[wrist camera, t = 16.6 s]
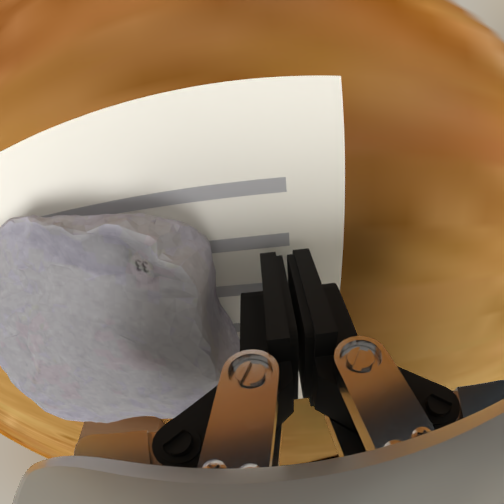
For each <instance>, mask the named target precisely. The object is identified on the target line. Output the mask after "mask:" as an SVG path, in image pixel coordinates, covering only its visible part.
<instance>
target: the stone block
mask: <svg viewBox="0 0 504 504" xmlns="http://www.w3.org/2000/svg"><path fill="white" fill-rule="evenodd" d="M237 352H240V339H239V337H238V335H237V332H236V329H235V327H234V325H233V323H232V321H231V319H230V317H229V316H228V314H227V313H226V311H225V310H224V309H223V307H222V306H221V304H220V301H219V299H218V296H217V293H216V270H215V267H214V263H213V257H212V251H211V246H210V243H209V240H208V239H207V237H206V236H205V235H203V234H202V233H200V232H199V231H197V230H196V229H195V228H193V227H191V226H190V225H188V224H186V223H183V222H181V221H177V220H172V219H164V218H160V217H157V216H151V215H147V214H143V213H136V214H101V215H89V216H79V215H75V214H74V215H69V216H68V215H55V216H53V217H40V216H35V215H31V216H25V217H24V216H22V217H13V218H10V219H8V220H7V221H6V222H5V223H4V224H3V225H2V226H1V227H0V366H1V367H2V369H3V370H4V371H5V372H6V373H7V375H8V377H9V378H10V380H11V382H12V383H13V384H14V385H15V386H16V387H17V388H18V389H19V390H20V391H21V392H23V393H24V394H25V395H26V396H27V397H29V398H31V399H32V400H33V401H34V402H35V403H36V404H37V405H39V406H40V407H41V408H42V409H43V410H44V411H46V412H48V413H50V414H53V415H55V416H57V417H60V418H62V419H65V420H72V421H82V422H88V421H92V422H96V423H97V422H102V423H110V422H115V421H119V420H122V419H127V418H132V417H140V416H155V417H157V418H160V419H166V418H175V417H176V416H177V415H179V414H180V413H182V412H183V411H184V410H186V409H187V408H188V407H190V406H191V405H192V404H194V403H195V402H196V401H197V400H199V399H200V398H201V397H203V396H204V395H205V394H207V393H208V392H209V391H210V390H212V389H213V388H214V387H215V386H217V385H218V382H219V378H220V375H221V371H222V368H223V366H224V363H225V362H226V361H227V360H228V359H229V358H230V357H231V356H232V355H234V354H236V353H237Z"/></svg>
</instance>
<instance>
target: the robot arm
mask: <svg viewBox="0 0 504 504" xmlns="http://www.w3.org/2000/svg"><path fill="white" fill-rule="evenodd" d="M260 263H261V274H262V286H263V291H257V292H247V293H241V297H240V352H237V353H236V354H234V355H232V356H231V357H230V358H229V359H228V360H227V361H226V362H225V363H224V366H223V368H222V371H221V375H220V378H219V382H218V385H217V386H215V387H214V388H213V389H212V390H210V391H209V392H208V393H207V394H205V395H204V396H203V397H201V398H200V399H199V400H197V401H196V402H195V403H194V404H192V405H191V406H190V407H188V408H187V409H186V410H184V411H183V412H182V413H180V414H179V415H177V416H176V417H175V418H173V419H172V420H171V421H169V422H168V423H167V424H165V425H164V426H162V427H161V428H160V429H159V430H158V431H156V432H149V431H148V430H141V431H132V432H122V433H109V434H92V435H88V436H85V437H83V438H82V439H80V440H79V442H78V443H77V445H76V447H75V451H74V456H62V457H55V458H49V459H46V460H43V461H40V462H37V463H35V464H34V465H32V466H31V467H30V468H29V469H28V470H27V471H26V472H25V474H24V475H23V477H22V479H21V481H20V483H19V486H18V488H17V491H16V494H15V496H14V500H13V503H12V504H504V380H499V381H494V382H488V383H482V384H476V385H470V386H463V387H457V388H456V390H455V391H451V390H450V389H448V388H446V387H444V386H442V385H439V384H437V383H435V382H432V381H430V380H428V379H425V378H423V377H421V376H418V375H416V374H414V373H411V372H409V371H407V370H404V369H402V368H400V367H398V366H396V364H395V363H394V361H393V360H392V358H391V356H390V355H389V353H388V352H387V350H386V349H385V347H384V346H383V345H382V344H381V343H380V342H378V341H377V340H375V339H373V338H370V337H367V336H357V333H356V330H355V328H354V325H353V323H352V320H351V318H350V315H349V313H348V310H347V308H346V305H345V303H344V300H343V298H342V296H341V293H340V291H339V288H338V286H337V284H336V283H328V284H322V283H321V280H320V277H319V275H318V272H317V269H316V266H315V264H314V261H313V258H312V256H311V253H310V250H309V248H306V249H296V250H293V251H292V254H289V255H287V269H288V280H287V276H286V271H285V266H284V261H283V257H282V255H279V256H276V252H268V253H260ZM298 372H299V376H300V383H301V389H302V395H303V398H309V400H310V405H311V406H314V407H315V409H316V410H317V411H319V412H321V413H323V414H324V416H325V421H326V423H327V426H328V429H329V431H330V434H331V437H332V439H333V442H334V444H335V447H336V450H337V452H338V455H339V457H337V458H333V459H328V460H322V461H316V462H309V463H302V464H294V465H285V466H279V462H280V452H281V442H282V431H283V422H284V421H285V420H286V419H287V418H288V417H289V416H290V415H291V414H292V413H293V412H294V399H298Z"/></svg>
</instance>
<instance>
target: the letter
mask: <svg viewBox="0 0 504 504" xmlns="http://www.w3.org/2000/svg"><path fill="white" fill-rule="evenodd" d="M344 211H345V143H344V117H343V99H342V85H341V76H285V77H268V78H255V79H245V80H236V81H228V82H220V83H213V84H207V85H200V86H195V87H189V88H184V89H179V90H174V91H169V92H164V93H160V94H155V95H151V96H147V97H143V98H139V99H135V100H132V101H128V102H124V103H121V104H117V105H114V106H111V107H107V108H104V109H101V110H98V111H95V112H92V113H89V114H86V115H83V116H81V117H78V118H75V119H72V120H70V121H67V122H65V123H62V124H59V125H57V126H54V127H52V128H50V129H47V130H45V131H43V132H40V133H38V134H36V135H34V136H31V137H29V138H27V139H25V140H23V141H21V142H19V143H17V144H15V145H13V146H11V147H9V148H7V149H5V150H3V151H1V152H0V227H1V226H2V225H3V224H4V223H5V222H6V221H7V220H8V219H10V218H13V217H22V216H24V217H25V216H31V215H35V216H40V217H53V216H55V215H68V216H69V215H74V214H75V215H79V216H89V215H101V214H136V213H143V214H147V215H151V216H157V217H160V218H164V219H172V220H177V221H181V222H183V223H186V224H188V225H190V226H191V227H193V228H195V229H196V230H197V231H199V232H200V233H202V234H203V235H205V236H206V237H207V239H208V240H209V243H210V246H211V251H212V257H213V263H214V267H215V270H216V293H217V296H218V299H219V301H220V304H221V306H222V307H223V309H224V310H225V311H226V313H227V314H228V316H229V317H230V319H231V321H232V323H233V325H234V327H235V329H236V332H237V335H238V337H239V339H240V297H241V293H247V292H257V291H263V286H262V274H261V263H260V253H268V252H276V256H279V255H282V257H283V261H284V266H285V271H286V276H287V280H288V269H287V255H289V254H292V251H293V250H296V249H306V248H309V250H310V253H311V256H312V258H313V261H314V264H315V266H316V269H317V272H318V275H319V277H320V280H321V283H322V284H328V283H336V284H337V286H338V288H339V291H340V284H341V271H342V256H343V238H344ZM302 398H303V395H302V389H301V383H300V376H299V372H298V399H302Z"/></svg>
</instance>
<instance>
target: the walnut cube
mask: <svg viewBox="0 0 504 504" xmlns="http://www.w3.org/2000/svg"><path fill="white" fill-rule="evenodd" d="M164 425H165V424H164V423H163V422H162V420H161V419H160V418H157V417H149V416H140V417H132V418H127V419H122V420H119V421H115V422H110V423H102V422H97V423H96V422H92V421H88V422H84V425H83V428H82V431H81V434H80V438H79V440H80V439H82V438H83V437H85V436H88V435H92V434H109V433H122V432H132V431H141V430H148V431H149V432H156V431H158V430H159V429H160V428H161V427H162V426H164ZM78 442H79V441H78Z"/></svg>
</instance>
